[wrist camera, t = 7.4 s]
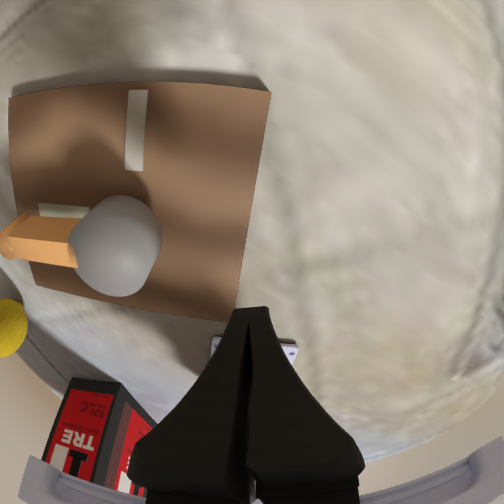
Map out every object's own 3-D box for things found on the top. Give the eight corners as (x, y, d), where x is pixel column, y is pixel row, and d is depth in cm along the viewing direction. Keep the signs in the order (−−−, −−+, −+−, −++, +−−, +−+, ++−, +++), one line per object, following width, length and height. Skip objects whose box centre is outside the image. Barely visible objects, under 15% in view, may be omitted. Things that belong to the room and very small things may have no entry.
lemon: (28, 288, 23) (-9, 341, 16) (44, 325, 26) (14, 377, 19) (-1, 280, 23) (-38, 326, 16) (14, 315, 26) (-15, 361, 19)
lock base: (233, 312, 24) (231, 336, 21) (42, 277, 22) (28, 294, 20) (270, 92, 15) (273, 91, 13) (18, 95, 13) (-5, 101, 11)
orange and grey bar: (161, 197, 15) (143, 220, 13) (165, 271, 18) (152, 302, 15) (13, 193, 15) (-13, 211, 12) (27, 253, 17) (6, 275, 15)
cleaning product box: (72, 377, 32) (31, 495, 15) (121, 382, 31) (85, 522, 14) (123, 428, 40) (103, 522, 23) (167, 433, 39) (152, 537, 22)
